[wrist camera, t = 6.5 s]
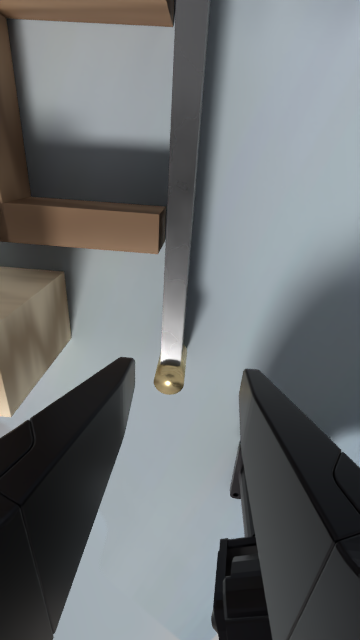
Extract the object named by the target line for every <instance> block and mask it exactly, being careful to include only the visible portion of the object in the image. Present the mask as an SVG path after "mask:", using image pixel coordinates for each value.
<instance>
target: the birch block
mask: <svg viewBox="0 0 360 640" xmlns="http://www.w3.org/2000/svg"><path fill="white" fill-rule="evenodd" d="M70 339H71V330H70V320H69V311H68V302H67V293H66V284H65V274H64V272H63V271H51V270H38V269H26V268H13V267H1V266H0V416H5V417H12V415H13V414H14V413H15V411H16V410H17V409H18V408H19V406H20V405H21V404H22V402H23V401H24V400H25V398H26V397H27V396H28V394H29V393H30V392H31V390H32V389H33V388H34V387H35V385H36V384H37V383H38V381H39V380H40V379H41V377H42V376H43V375H44V373H45V372H46V371H47V369H48V368H49V367H50V366H51V364H52V363H53V362H54V360H55V359H56V358H57V356H58V355H59V354H60V352H61V351H62V350H63V348H64V347H65V346H66V344H67V343H68V342H69V341H70Z"/></svg>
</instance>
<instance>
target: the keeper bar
mask: <svg viewBox="0 0 360 640" xmlns="http://www.w3.org/2000/svg"><path fill="white" fill-rule="evenodd" d="M210 1H211V0H176V17H175V40H174V64H173V87H172V110H171V133H170V156H169V179H168V202H167V225H166V248H165V271H164V294H163V317H162V340H161V353H160V357H159V361H158V365H157V369H156V374H155V378H154V385H155V387H156V389H157V390H158V391H160V392H161V393H164V394H169V395H171V394H176V393H178V392H179V391H181V389H182V388H183V385H184V376H185V367H186V357H187V349H186V347H185V345H184V344H183V341H184V329H185V316H186V304H187V291H188V278H189V266H190V253H191V240H192V228H193V215H194V203H195V190H196V177H197V165H198V152H199V139H200V127H201V114H202V102H203V89H204V76H205V64H206V51H207V38H208V26H209V13H210Z"/></svg>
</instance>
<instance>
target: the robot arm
mask: <svg viewBox="0 0 360 640" xmlns="http://www.w3.org/2000/svg"><path fill="white" fill-rule="evenodd" d="M134 388H135V360H134V359H133V358H127V357H120V358H118V359H116V360H115V361H114V362H112V363H111V364H109V365H108V366H106V367H105V368H103V369H102V370H100V371H99V372H97V373H96V374H94V375H93V376H92V377H90V378H89V379H87V380H86V381H84V382H83V383H81V384H80V385H78V386H77V387H75V388H74V389H72V390H71V391H70V392H68V393H67V394H65V395H64V396H62V397H61V398H59V399H58V400H56V401H55V402H53V403H52V404H50V405H49V406H48V407H46V408H45V409H43V410H42V411H40V412H39V413H37V414H36V415H34V416H33V417H31V418H30V420H27V421H25V422H24V423H22V424H21V425H19V426H18V427H17V428H15V429H14V430H12V431H10V432H9V433H7V434H6V435H4V436H3V437H1V438H0V640H53V634H54V633H55V631H56V628H57V626H58V623H59V620H60V617H61V614H62V611H63V609H64V606H65V603H66V600H67V597H68V594H69V591H70V589H71V586H72V583H73V580H74V577H75V574H76V572H77V568H78V566H79V563H80V560H81V557H82V554H83V552H84V549H85V546H86V543H87V540H88V537H89V534H90V532H91V529H92V526H93V523H94V520H95V518H96V515H97V512H98V509H99V506H100V503H101V501H102V498H103V495H104V492H105V489H106V486H107V483H108V481H109V478H110V475H111V472H112V469H113V466H114V464H115V461H116V458H117V455H118V452H119V449H120V447H121V444H122V440H123V437H124V434H125V430H126V425H127V421H128V416H129V411H130V407H131V402H132V397H133V393H134ZM239 413H240V439H241V444H240V445H239V447H238V452H237V457H236V462H235V467H234V472H233V477H232V482H231V487H230V496H231V497H232V498H235V499H241V504H242V514H243V524H244V534H245V537H244V538H236V539H228V538H225V539H220V550H219V551H218V559H217V570H216V582H215V593H214V605H213V612H212V616H211V621H212V626H213V628H214V630H215V631H216V632H217V633H218V636H219V640H360V467H359V466H357V465H356V464H355V463H354V462H353V461H352V460H351V459H350V458H349V457H348V456H347V455H346V454H345V453H344V452H342V453H341V449H340V448H339V447H338V446H337V445H336V444H335V443H334V442H333V441H332V440H331V439H329V438H328V437H327V436H326V435H325V434H324V433H323V432H322V431H321V430H320V429H319V428H318V427H317V426H316V425H315V424H314V423H313V422H312V421H311V420H310V419H309V418H308V417H307V416H306V415H305V414H304V413H303V412H302V411H301V410H300V409H299V408H298V407H297V406H296V405H295V404H294V403H293V402H291V401H290V400H289V399H288V398H287V397H286V396H285V395H284V394H283V393H282V392H281V391H280V390H279V389H278V388H277V387H276V386H275V385H274V384H273V383H272V382H271V381H270V380H269V379H268V378H267V377H266V376H265V375H264V374H263V373H262V372H261V371H259V370H256V369H245V370H244V371H243V375H242V381H241V386H240V392H239Z"/></svg>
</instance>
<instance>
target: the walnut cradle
mask: <svg viewBox="0 0 360 640" xmlns="http://www.w3.org/2000/svg"><path fill="white" fill-rule="evenodd" d="M173 13H174V0H0V242H12V243H24V244H37V245H50V246H62V247H75V248H88V249H100V250H113V251H126V252H138V253H151V254H158V253H159V251H160V249H161V247H162V245H163V244H164V242H165V222H166V206H152V205H139V204H125V203H111V202H98V201H84V200H70V199H56V198H43V197H31V192H30V185H29V178H28V170H27V163H26V156H25V149H24V142H23V135H22V127H21V120H20V113H19V106H18V99H17V92H16V85H15V77H14V70H13V63H12V56H11V49H10V42H9V34H8V27H7V20H6V18H7V19H27V20H47V21H67V22H86V23H106V24H126V25H146V26H165V27H173Z"/></svg>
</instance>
